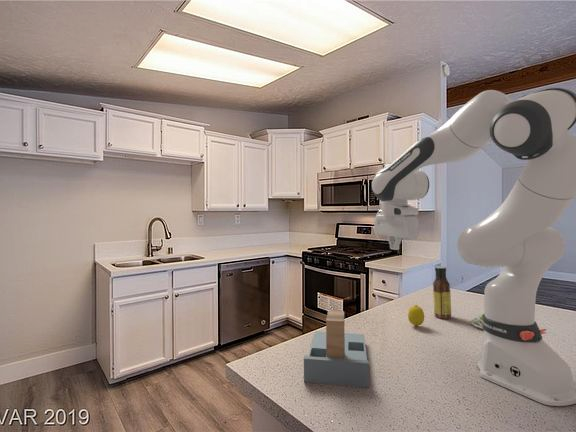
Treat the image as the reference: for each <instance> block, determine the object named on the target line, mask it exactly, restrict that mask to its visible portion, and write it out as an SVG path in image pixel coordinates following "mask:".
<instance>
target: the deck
mask: <svg viewBox="0 0 576 432" xmlns="http://www.w3.org/2000/svg"><path fill="white" fill-rule="evenodd" d="M365 338H366V337H365V333H355V332H353V333H352V332H350V333H349V332H345V359H340V358H327V355H326V331H318V330H317V331H314V333H313V336H312V341H311V344H310V348H309V350H308V354H307V355H304V357H303V382H304V383H309V384H310V383H312V384H324V385H334V386H336V385H337V386H345V387H346V386H347V387H355V388H356V387H359V388H369V387H370V377H369V375H370V372H369V371H370V369H369V368H370V365H369V364H370V363H369V360H368V356H367V348H366V339H365Z"/></svg>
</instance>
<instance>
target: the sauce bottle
mask: <svg viewBox="0 0 576 432" xmlns="http://www.w3.org/2000/svg"><path fill="white" fill-rule="evenodd" d="M434 271H435V279H434V281H433V283H432V289H433V290H432V294H433V295H432V297H433V314H434V316H435V317H436V318H438V319H442V320H448V319H451V317H452V303H451V302H452V301H451V300H452V299H451V284H450V282H449V281H448V279H447V267H446V266H435V267H434Z"/></svg>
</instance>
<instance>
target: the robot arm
mask: <svg viewBox="0 0 576 432" xmlns="http://www.w3.org/2000/svg"><path fill="white" fill-rule="evenodd" d="M575 124H576V93H575V92H573V91H572V90H569V89H566V88H561V87H552V88H545V89H542V90H538V91H535V92H532V93H528V94H525V95H522V96H520V98H518V99H512V98H510V97H509V96H508V95H507V94H505V93H504V92H502V91H499V90H495V89H488V90H487V89H486V90H484V91H482V92H480V93H478V94H477V95H475V96H474V97H473V98H471V99H470V100H468V101H467V102H466V103H465V104H463V106H461V107H460V108H459V109H458V110H457V111H456V112H455V113H454V114H453V115H452V116H451V117H450V118H449V119H447V121H446V122H444V123H443V125H441V126H440V127H438V128H437V129H436V130H434V131H433V132H432V133H429V135H427V136H425V137H423V138H421V139H420V140H418V141H416V142H415V143H413V145H412V144H411V146H410V147H409V148H408V149H406V150H405V151H404V152H403V153H402V154H401V155H400V156H398V157H397V158H396V159H395V160H393V161H392V162H390V163H388V164H386V165H384V166H383V168H381V169H379V170H378V171H377V172H376V173H375V174H374V176H373V178H372V179H371V191H372V194H373V195H374V196H375V197H376V198H377V199H378V200H379V201H380V205H381V206H380V210H379V209H378V211H377V212H376V215H375V216H374V217H375V218H374V223H373V225H374V226H373V232H374V234H375V235H378V236H386V237H387V242H388V244H389V249H390V250H394V251H398V250H400V244H401V243H402V240H403V239H416V238H418V236H419V234H420V233H419V232H420V227H419V224H420V222H419V218H418V215H419V209H418V208H416V207H414V206H412V205H410V204H409V203H408V202H409V201H414V200H415V201H416V200H420V199H421V200H422V199H423V198H425V196H427V194H428V192H429V189H430V178H429V176H428V175H427V174H426V173H425V171H421V170H420V169H421V168H424V167H428V166H431V165H439V164H446V163H447V164H448V163H455V162H456V163H457V162H461V161H465V160H466V159H468V158H470V157H472V156H474V155H475V154H476V153H478V152H479V151H481V150H482V149H483V148H484V147H485V146H486V145H488V144H489V143H490V142H491V141H493V143H494V144H495V146H497V147H498V148H499V149H500V150H503V151H504V152H506V153H508V154H511V155H513V156H514V157H515V158H516V159H518V160H522V161H526V163H525V166H523V167H524V168H523V169H522V171H521V172H520V175H519V176H518V179H517V180H516V182H515V184H514V185H513V187H512V189H511V190H510V192H509V194H508V195H507V196H506V198H505V199H504V201H503V202H502V204H500V206H499V207H498V208H496V209H495V210H494V211H493V212H491V213H490V214H489V215H488V216H486V217H485V218H484V219H483V220H481V221H479V222H477V223H476V224H474V225H471V226H469V227H467V228H464V229H463V230H462V231H461V232H460V234H459V236H458V238H457V244H456V246H457V251H458V254H459V256H460V258H461V259H462V260H463V262H466V264H469V265H474V266H479V267H486V268H493V267H494V268H498V267H502V270H501V272H499V274H498V275H497V277H495V278H494V279H492V280H490V281H489V282H488V283H487V284H486V285H485V288H484V292H483V293H484V297H483V298H484V299H483V300H484V301H483V302H484V305H483V307H484V309H483V310H484V313H483V314H482V315H483V319H482V323H481V324H482V326H481V327H482V328H483V329H484V331H483V336H482V337H483V338H482V344H481V345H482V346H481V351H480V354H479V357H478V361H477V362H476V363H477V365H476V366H477V368H478V369H479V376H480V378H482V379H485V380H487V381H489V382H492V383H493V384H496V385H498V386H501V387H503V388H506V389H507V390H510V391H513V392H515V393H517V394H519V395H522V396H524V397H526V398H529V399H531V400H533V401H536V402H537V403H540V404H543V405H546V406H553V407H564V406H571V405H575V404H576V383H575V382H574V376H573V372H572V370H571V367H570V365H569V364H568V362H566V361H565V359H563V358H562V357H561V356H560V355H559V354H558V353H557V352H556V351H554V349H553V348H552V347H551V346H549V344H548V343H547V342H546V341H544V339H543V336H542V335H544V334H547V332H546V331H547V328H541V329H540V328H539V325H538V323H537V322H536V321H535V320H536V298H537V292H538V288H539V285H540V282H541V281H542V279H543V277H544V276H545V274H546V272H547V271H548V269H550V267H551V266H553V264H555V263H556V262H558V261H559V260H560V259H561V258H562V257H563V256H564V252H565V240H564V238H563V235H562V234H561V233H560V232H559V231H558V230H557V229H555V228H553V227H552V226H553V225H554V224H556V223H557V222H558V221H559V220H560V218H561V216H562V215H563V214H564V213H565V211H566V210H567V208H568V207H569V206H570V204H571V203H572V201H574V199H575V197H576V137H575V136H574V135H572V134H571V132H570V129H571V128H572V127H573V126H574V125H575Z"/></svg>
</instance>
